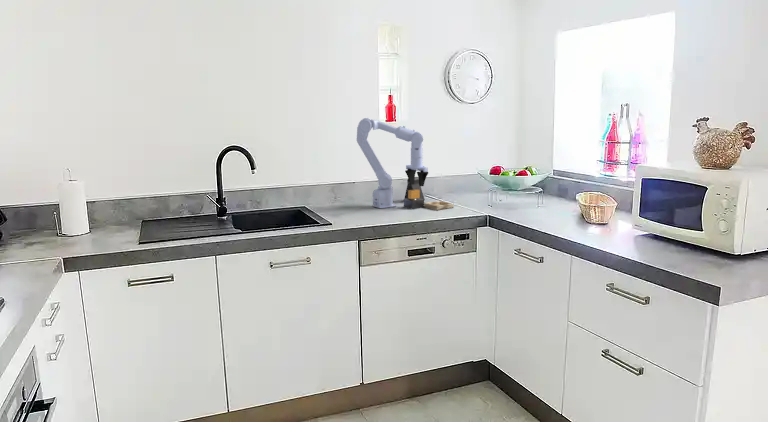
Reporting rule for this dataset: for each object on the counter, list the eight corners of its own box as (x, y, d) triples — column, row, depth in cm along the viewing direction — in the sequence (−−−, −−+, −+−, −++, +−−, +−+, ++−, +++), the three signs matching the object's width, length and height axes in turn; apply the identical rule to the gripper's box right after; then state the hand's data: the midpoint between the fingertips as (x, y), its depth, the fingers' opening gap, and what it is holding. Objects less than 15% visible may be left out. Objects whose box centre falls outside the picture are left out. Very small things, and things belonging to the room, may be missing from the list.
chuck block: (412, 209, 274) (412, 200, 273) (403, 207, 279) (403, 198, 278) (424, 207, 277) (424, 199, 277) (415, 205, 283) (415, 197, 282)
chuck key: (411, 208, 276) (411, 190, 274) (408, 207, 278) (408, 190, 276) (419, 207, 279) (419, 189, 277) (416, 206, 281) (416, 189, 279)
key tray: (437, 210, 270) (437, 206, 270) (424, 207, 278) (424, 203, 278) (453, 207, 275) (453, 203, 275) (440, 204, 284) (440, 200, 283)
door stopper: (404, 200, 296) (402, 177, 293) (412, 198, 300) (410, 176, 297) (416, 202, 290) (415, 179, 287) (424, 200, 294) (423, 177, 291)
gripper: (432, 157, 273) (432, 186, 276) (413, 155, 285) (413, 182, 287) (421, 158, 269) (421, 187, 272) (402, 156, 281) (402, 184, 283)
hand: (416, 185), depth 279 cm, fingers open, 7 cm apart
